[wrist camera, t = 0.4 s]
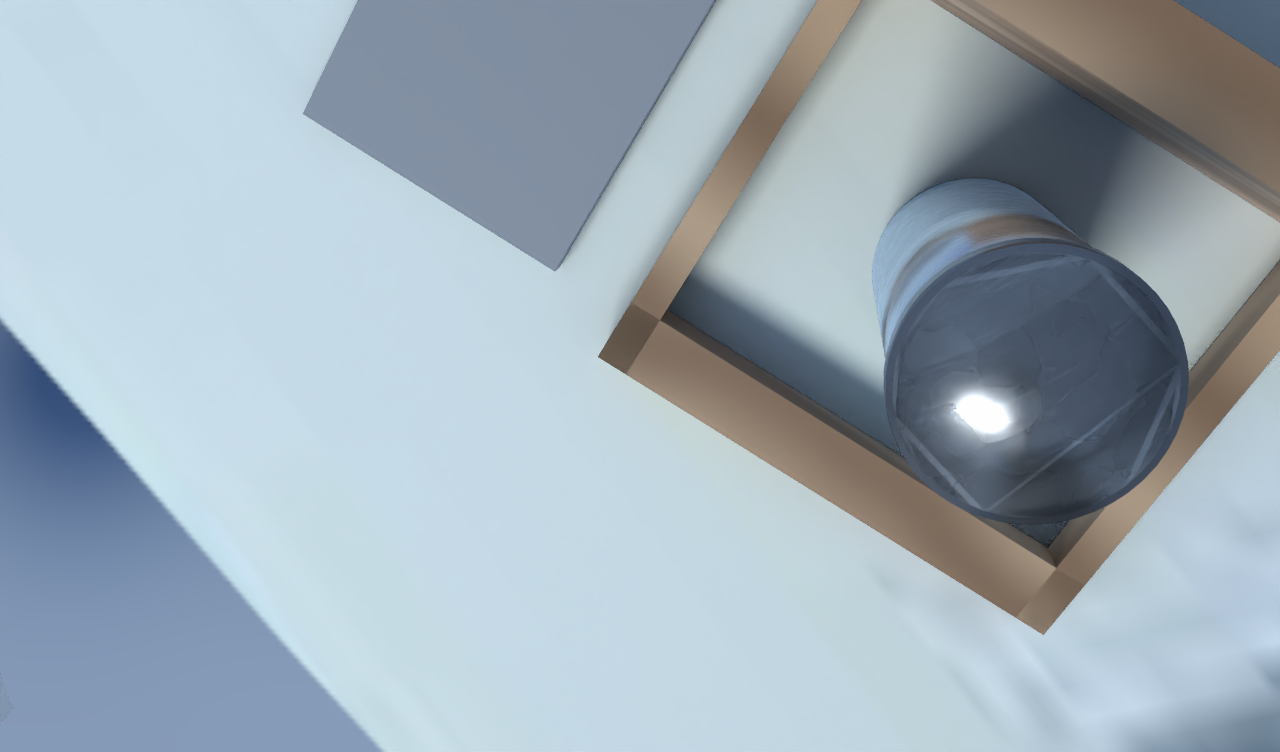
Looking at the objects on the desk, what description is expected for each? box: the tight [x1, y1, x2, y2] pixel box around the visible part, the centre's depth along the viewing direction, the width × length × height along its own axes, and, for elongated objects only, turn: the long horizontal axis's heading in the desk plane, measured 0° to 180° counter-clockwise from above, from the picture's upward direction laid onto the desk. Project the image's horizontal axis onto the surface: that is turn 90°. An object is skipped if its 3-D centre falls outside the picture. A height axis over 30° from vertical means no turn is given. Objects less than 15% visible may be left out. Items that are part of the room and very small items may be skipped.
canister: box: [872, 178, 1189, 525], centre depth 30 cm, size 6×6×12 cm
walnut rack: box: [598, 0, 1280, 635], centre depth 32 cm, size 16×16×9 cm
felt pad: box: [303, 0, 716, 271], centre depth 35 cm, size 13×9×1 cm
